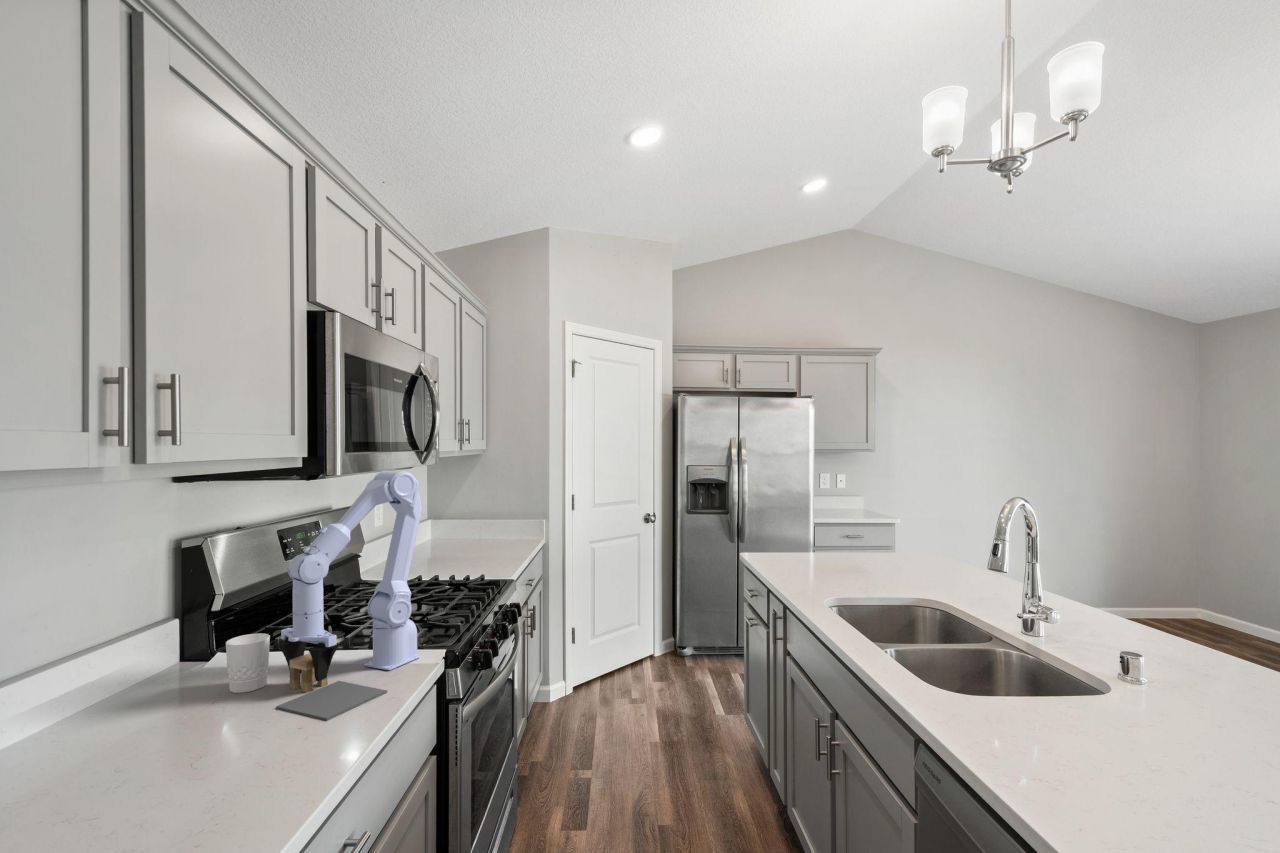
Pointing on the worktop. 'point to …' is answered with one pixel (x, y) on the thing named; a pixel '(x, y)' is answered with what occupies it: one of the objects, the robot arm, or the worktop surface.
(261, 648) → the white cup
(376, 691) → the mat
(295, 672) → the tan notched block
